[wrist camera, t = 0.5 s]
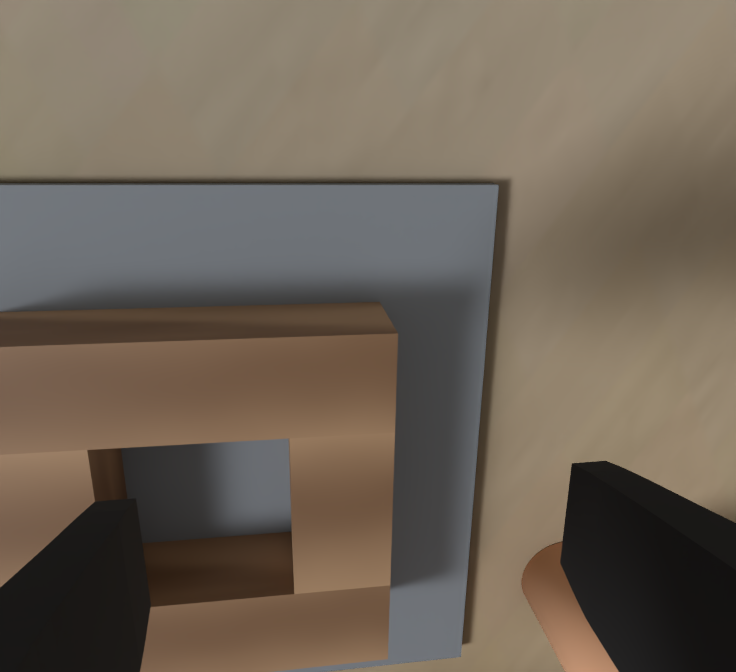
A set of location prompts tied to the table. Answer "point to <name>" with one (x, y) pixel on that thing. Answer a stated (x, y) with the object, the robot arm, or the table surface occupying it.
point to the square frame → (213, 425)
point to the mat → (278, 287)
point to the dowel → (562, 614)
